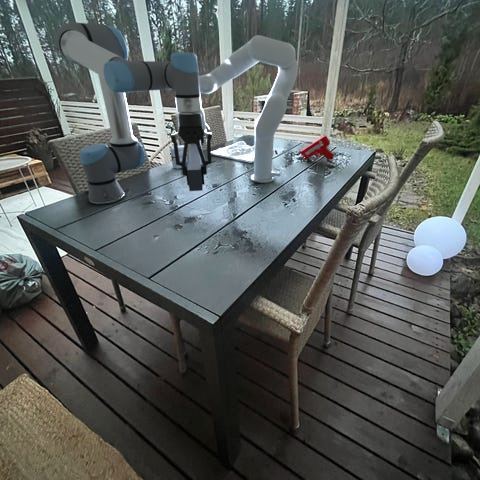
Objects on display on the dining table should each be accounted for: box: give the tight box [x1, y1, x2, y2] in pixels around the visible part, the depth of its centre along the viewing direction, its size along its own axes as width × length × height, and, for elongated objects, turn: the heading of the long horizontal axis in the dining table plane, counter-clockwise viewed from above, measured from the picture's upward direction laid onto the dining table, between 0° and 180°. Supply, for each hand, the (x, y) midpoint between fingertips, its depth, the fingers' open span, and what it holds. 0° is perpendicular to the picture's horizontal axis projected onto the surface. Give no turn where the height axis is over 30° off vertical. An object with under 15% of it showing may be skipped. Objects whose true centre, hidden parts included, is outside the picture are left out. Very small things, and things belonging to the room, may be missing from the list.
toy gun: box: [299, 134, 335, 162], centre depth 173 cm, size 18×4×15 cm
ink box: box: [169, 144, 189, 170], centre depth 162 cm, size 8×5×12 cm, turn 135°
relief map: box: [211, 140, 274, 164], centre depth 187 cm, size 27×35×5 cm
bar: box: [187, 140, 203, 192], centre depth 117 cm, size 61×4×7 cm, turn 7°
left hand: (195, 183), depth 97 cm, fingers closed on bar, 5 cm apart
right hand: (197, 144), depth 139 cm, fingers closed on bar, 4 cm apart
